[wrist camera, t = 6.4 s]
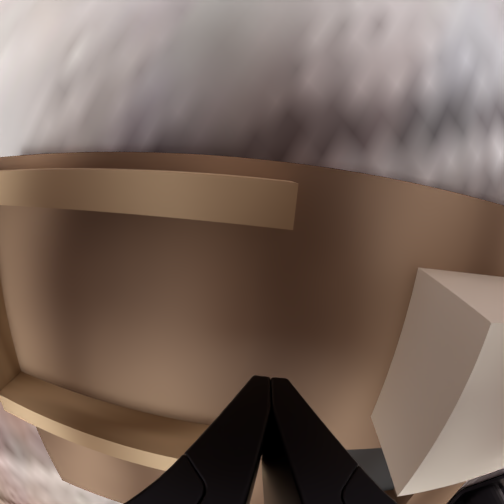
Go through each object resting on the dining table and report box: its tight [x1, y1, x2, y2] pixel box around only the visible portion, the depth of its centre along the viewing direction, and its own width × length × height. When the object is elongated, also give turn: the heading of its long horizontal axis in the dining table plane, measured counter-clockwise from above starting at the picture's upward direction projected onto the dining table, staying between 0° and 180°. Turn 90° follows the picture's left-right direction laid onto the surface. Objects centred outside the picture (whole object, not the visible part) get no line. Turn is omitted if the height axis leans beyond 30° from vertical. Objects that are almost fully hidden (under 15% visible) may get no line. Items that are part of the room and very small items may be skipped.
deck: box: [0, 152, 504, 504], centre depth 11 cm, size 25×19×4 cm
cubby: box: [0, 168, 298, 471], centre depth 9 cm, size 12×10×2 cm
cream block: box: [371, 268, 504, 497], centre depth 8 cm, size 6×6×4 cm
